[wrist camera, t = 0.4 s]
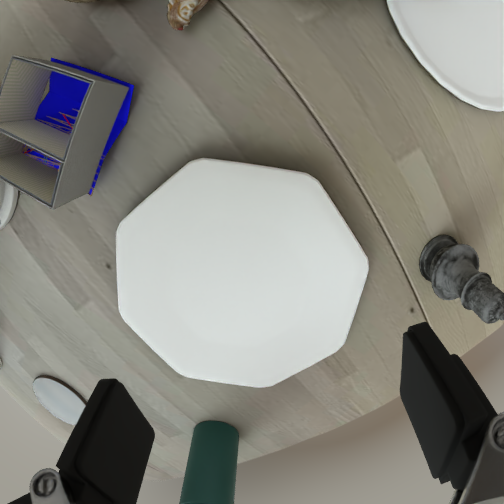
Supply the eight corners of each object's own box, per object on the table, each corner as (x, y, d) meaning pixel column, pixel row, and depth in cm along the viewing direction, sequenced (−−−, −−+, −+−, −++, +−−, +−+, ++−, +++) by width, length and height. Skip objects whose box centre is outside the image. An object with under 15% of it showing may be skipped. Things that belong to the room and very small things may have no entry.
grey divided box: (-25, 167, 19) (26, 153, 26) (55, 215, 20) (101, 191, 28) (7, 49, 15) (58, 58, 23) (101, 77, 17) (142, 87, 24)
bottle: (206, 414, 38) (185, 538, 21) (247, 431, 39) (241, 550, 22) (186, 434, 40) (163, 544, 23) (224, 449, 41) (213, 557, 24)
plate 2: (359, 52, 22) (364, 49, 21) (391, -86, 15) (395, -91, 14) (519, 144, 24) (526, 145, 23) (532, 6, 17) (537, 5, 15)
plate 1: (323, 384, 35) (325, 393, 34) (127, 356, 35) (123, 364, 33) (384, 187, 27) (390, 190, 25) (125, 149, 26) (118, 150, 25)
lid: (37, 363, 37) (35, 365, 36) (98, 403, 39) (97, 406, 38) (32, 397, 40) (30, 399, 40) (85, 431, 42) (84, 434, 42)
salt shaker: (406, 268, 30) (465, 335, 18) (439, 221, 28) (513, 271, 17) (439, 292, 31) (496, 358, 19) (470, 250, 29) (538, 303, 18)
